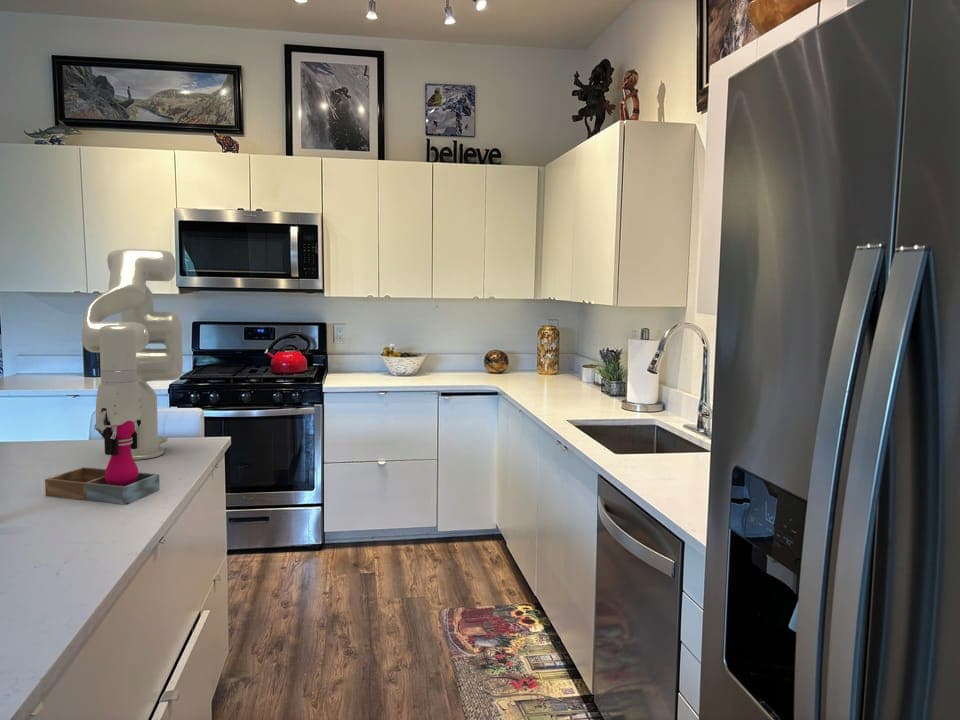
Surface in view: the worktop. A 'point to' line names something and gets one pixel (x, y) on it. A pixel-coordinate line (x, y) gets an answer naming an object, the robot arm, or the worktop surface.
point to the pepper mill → (122, 458)
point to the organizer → (99, 486)
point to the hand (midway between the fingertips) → (121, 450)
